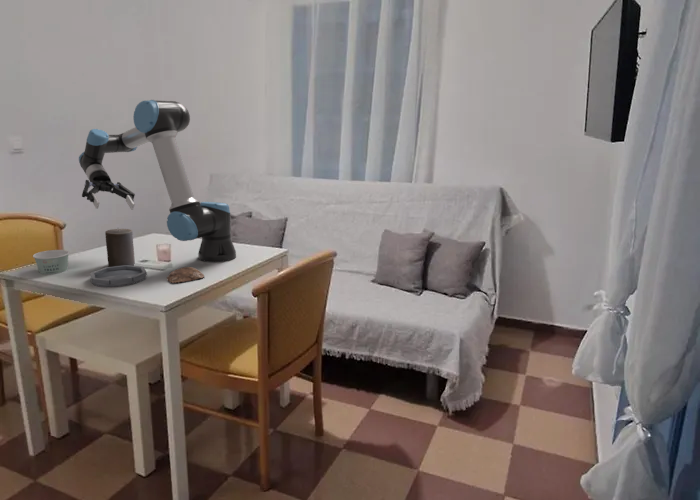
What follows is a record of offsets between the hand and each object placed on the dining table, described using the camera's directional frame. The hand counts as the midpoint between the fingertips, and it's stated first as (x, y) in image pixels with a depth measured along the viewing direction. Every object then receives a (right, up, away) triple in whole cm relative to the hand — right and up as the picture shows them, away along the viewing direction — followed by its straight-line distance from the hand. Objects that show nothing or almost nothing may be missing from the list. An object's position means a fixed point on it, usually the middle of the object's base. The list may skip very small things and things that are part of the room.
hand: (115, 206), depth 203 cm
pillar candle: (+3, -23, -2) cm, 24 cm away
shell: (+33, -28, -16) cm, 46 cm away
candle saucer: (+10, -28, -19) cm, 35 cm away
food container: (-19, -25, -10) cm, 33 cm away
